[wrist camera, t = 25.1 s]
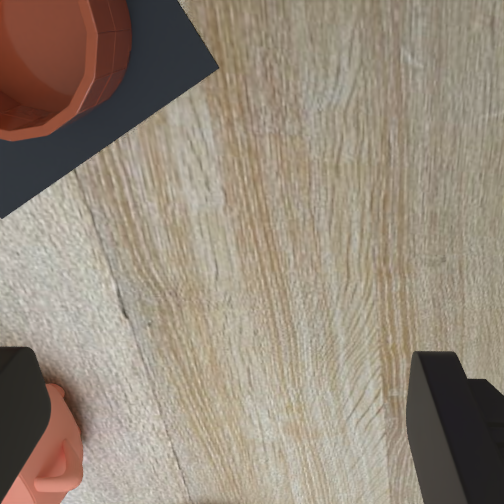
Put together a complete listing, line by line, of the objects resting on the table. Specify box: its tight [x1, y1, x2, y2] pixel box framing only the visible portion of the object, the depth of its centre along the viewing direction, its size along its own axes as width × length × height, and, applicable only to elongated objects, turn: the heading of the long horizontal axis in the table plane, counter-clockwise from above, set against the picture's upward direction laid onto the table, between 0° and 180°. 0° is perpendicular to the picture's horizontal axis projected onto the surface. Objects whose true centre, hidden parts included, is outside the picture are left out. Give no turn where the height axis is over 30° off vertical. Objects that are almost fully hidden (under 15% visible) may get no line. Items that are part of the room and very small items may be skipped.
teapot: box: [1, 383, 83, 504], centre depth 41 cm, size 14×12×10 cm
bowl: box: [0, 0, 132, 141], centre depth 27 cm, size 11×11×6 cm
